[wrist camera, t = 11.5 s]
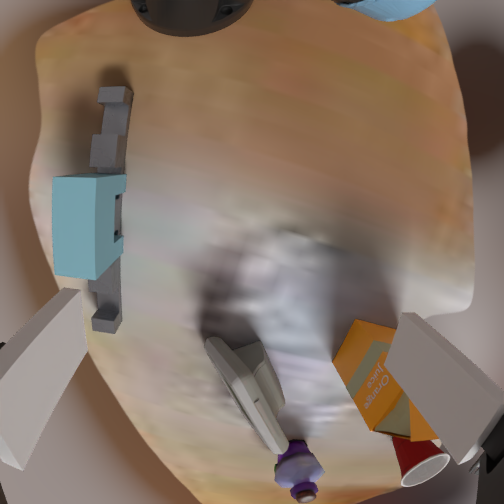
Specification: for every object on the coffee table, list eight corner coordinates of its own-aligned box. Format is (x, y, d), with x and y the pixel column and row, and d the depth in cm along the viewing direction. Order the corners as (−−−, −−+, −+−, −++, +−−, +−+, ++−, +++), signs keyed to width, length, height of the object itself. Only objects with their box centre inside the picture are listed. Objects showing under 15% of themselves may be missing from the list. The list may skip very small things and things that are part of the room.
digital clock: (201, 330, 39) (197, 383, 28) (270, 318, 39) (287, 367, 29) (226, 415, 43) (229, 468, 33) (283, 405, 44) (297, 456, 33)
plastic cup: (381, 430, 49) (406, 472, 37) (427, 409, 49) (455, 446, 38) (378, 456, 52) (398, 495, 41) (420, 438, 52) (443, 472, 41)
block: (90, 172, 31) (52, 177, 22) (126, 174, 31) (96, 177, 23) (89, 249, 33) (54, 274, 24) (123, 252, 34) (96, 280, 25)
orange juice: (376, 370, 44) (438, 458, 25) (331, 362, 42) (387, 466, 23) (400, 329, 42) (478, 409, 23) (355, 317, 40) (433, 411, 21)
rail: (110, 93, 29) (99, 87, 26) (133, 93, 30) (125, 86, 26) (101, 317, 37) (92, 330, 33) (122, 320, 37) (114, 333, 34)
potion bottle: (258, 452, 47) (268, 505, 35) (294, 428, 45) (310, 482, 34) (290, 465, 49) (303, 513, 37) (324, 442, 48) (343, 491, 36)
